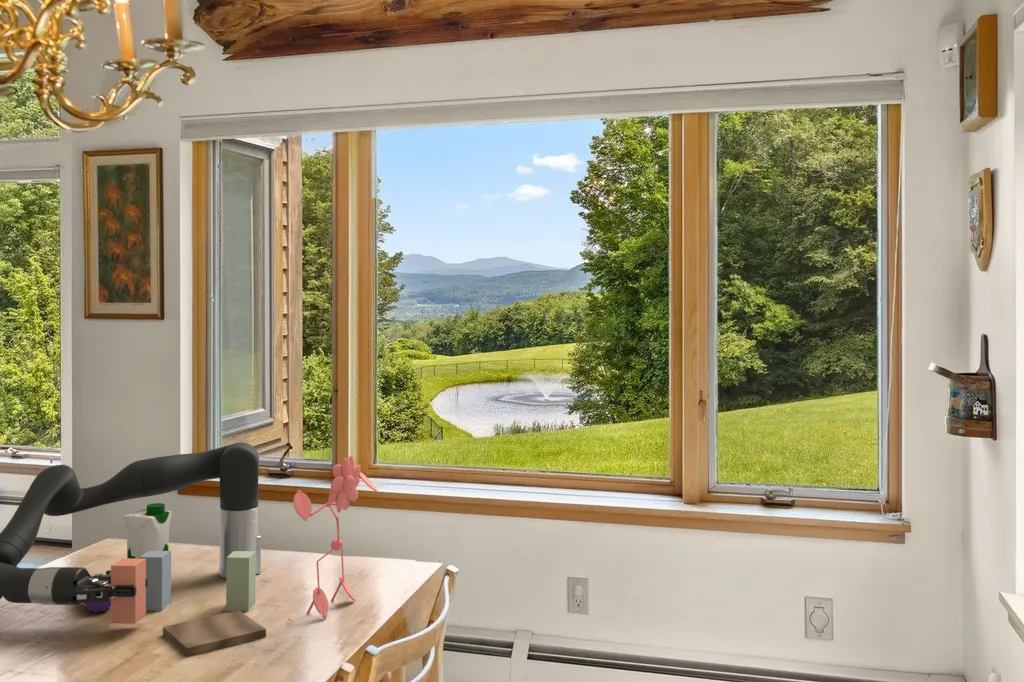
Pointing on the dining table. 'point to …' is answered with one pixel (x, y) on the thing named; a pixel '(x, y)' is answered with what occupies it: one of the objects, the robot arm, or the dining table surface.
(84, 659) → the dining table surface
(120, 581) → the red block
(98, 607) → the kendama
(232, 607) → the olive block
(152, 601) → the blue grey block
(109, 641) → the dining table surface
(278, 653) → the dining table surface
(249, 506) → the robot arm
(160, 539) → the milk carton
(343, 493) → the figurine
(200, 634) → the walnut board
